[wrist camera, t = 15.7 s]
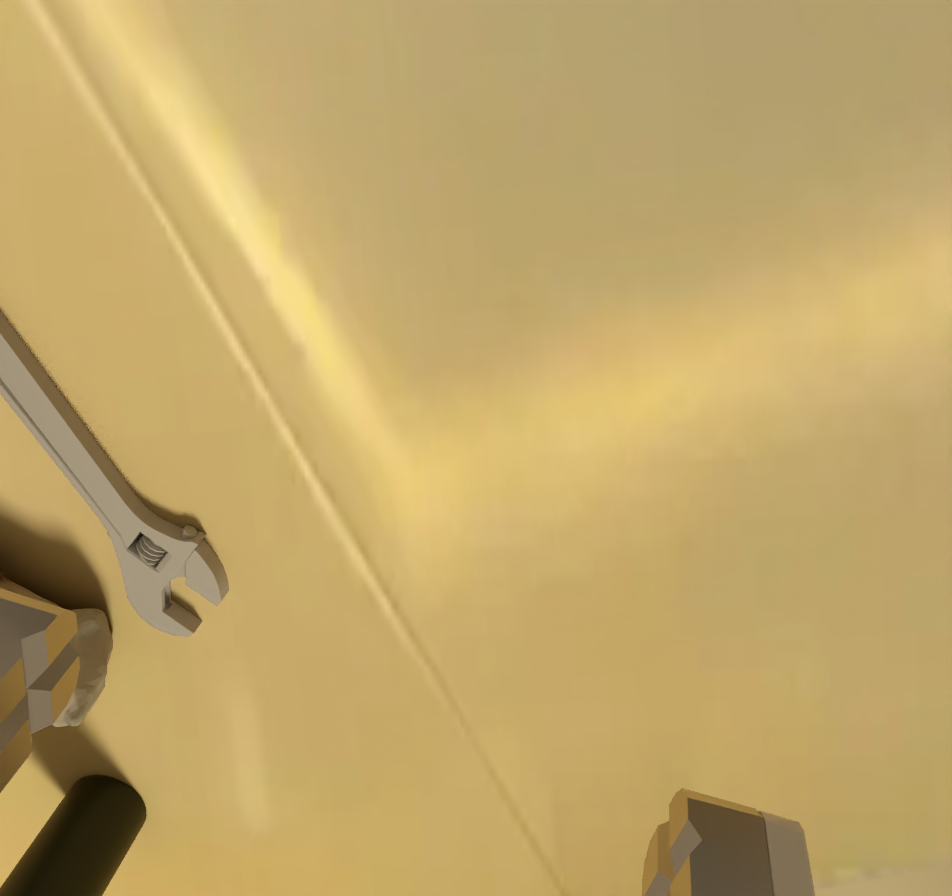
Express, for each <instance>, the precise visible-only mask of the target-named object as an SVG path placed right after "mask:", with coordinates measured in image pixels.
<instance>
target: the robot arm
mask: <svg viewBox="0 0 952 896" xmlns="http://www.w3.org/2000/svg"><path fill="white" fill-rule="evenodd" d="M77 632H78V628H77V619H76V613H74V612H72V611H69V610H66V609H63V608H60V607H57V606H54V605H51V604H48V603H45V602H42V601H38V600H35V599H32V598H29V597H26V596H23V595H20V594H17V593H14V592H10V591H7V590H4V589H1V588H0V793H1V791H2V790H3V789H4V787H5V786H6V785H7V784H8V782H9V781H10V780H11V778H12V777H13V776H14V775H15V773H16V772H17V771H18V769H19V768H20V767H21V765H22V764H23V763H24V762H25V760H26V759H27V758H28V756H29V755H30V754H31V753H32V736H31V734H33V733H35V732H37V731H39V730H41V729H44V728H46V727H48V726H50V725H52V724H54V722H55V721H56V720H57V718H58V717H59V716H60V714H61V713H62V711H63V710H64V709H65V707H66V706H67V704H68V702H69V700H70V697H71V695H72V693H73V691H74V689H75V687H76V685H77V680H78V675H79V670H80V660H79V654H78V653H77V651H76V650H75V649H74V647H73V646H72V645H71V643H70V642H69V641H70V640H71V639H72V638H73V636H74V635H75V634H76V633H77ZM642 896H815V891H814V886H813V880H812V874H811V868H810V863H809V857H808V851H807V846H806V840H805V834H804V830H803V828H802V827H801V825H800V823H799V822H796V821H793V820H790V819H786V818H783V817H779V816H776V815H773V814H769V813H766V812H762V811H757V810H756V809H755V808H751V807H748V806H744V805H740V804H737V803H733V802H730V801H726V800H722V799H719V798H715V797H712V796H708V795H704V794H701V793H697V792H694V791H690V790H686V789H683V788H682V789H681V790H679V791H678V792H676V794H675V796H674V797H673V799H672V801H671V803H670V804H669V821H668V822H665V823H663V824H661V825H658V826H657V828H656V830H655V832H654V835H653V837H652V839H651V841H650V844H649V847H648V851H647V855H646V858H645V862H644V871H643V879H642Z"/></svg>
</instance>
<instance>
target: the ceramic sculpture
mask: <svg viewBox="0 0 952 896" xmlns="http://www.w3.org/2000/svg"><path fill="white" fill-rule="evenodd" d="M0 588H1V589H4V590H7V591H10V592H14V593H17V594H20V595H23V596H26V597H29V598H32V599H35V600H38V601H42V602H45V603H48V604H51V605H54V606H57V607H60V606H58V605H57V604H55V603H53V602H51V601H49V600H46V599H44V598H42V597H40V596H38V595H36V594H35V593H33V592H31V591H29V590H28V589H26V588H24V587H22V586H20V585H18V584H16V583H14V582H12V581H10V580H8V579H6V578H5V576H4V574H3V573H2V572H1V571H0ZM60 608H62V607H60ZM63 609H64V608H63ZM66 610H67V609H66ZM69 611H72V612H74V613H76V619H77V628H78V632H77V633H76V634H75V635H74V636H73V638H72V639H71V640H70V641H69V642H70V643H71V645H72V646H73V647H74V649H75V650H76V651H77V653H78V654H79V660H80V670H79V675H78V680H77V685H76V687H75V689H74V691H73V693H72V695H71V697H70V700H69V702H68V704H67V706H66V707H65V709H64V710H63V711H62V713H61V714H60V716H59V717H58V718H57V720H56V721H55V722H54V724H52V725H53V726H56V727H61V726H68V725H71V726H78V725H79V724H81V723H82V721H83V720H84V718H85V716H86V714H87V713H88V712H89V710H90V709H91V708H92V706H93V705H94V703H95V702H96V700H97V699H98V697H99V695H100V694H101V692H102V690H103V689H104V687H105V677H106V673H107V664H108V661H109V658H110V655H111V651H112V648H113V639H112V635H111V632H110V629H109V625H108V620H107V617H106V615H105V613H104V612H103V611H102V610H100V609H95V608H88V609H74V610H69Z"/></svg>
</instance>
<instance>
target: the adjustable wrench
mask: <svg viewBox="0 0 952 896" xmlns="http://www.w3.org/2000/svg"><path fill="white" fill-rule="evenodd" d="M0 394H1V395H2V397H3V398H4V399H5V400H6V402H7V403H8V404H9V405H10V407H11V408H12V409H13V410H14V412H15V413H16V414H17V415H18V417H19V418H20V419H21V421H22V422H23V423H24V424H25V426H26V427H27V428H28V429H29V431H30V432H31V433H32V434H33V436H34V437H35V438H36V439H37V441H38V442H39V443H40V445H41V446H42V447H43V448H44V450H45V451H46V452H47V453H48V455H49V456H50V457H51V458H52V460H53V461H54V462H55V463H56V465H57V466H58V467H59V469H60V470H61V471H62V472H63V474H64V475H65V476H66V477H67V479H68V480H69V481H70V482H71V484H72V485H73V486H74V487H75V489H76V490H77V491H78V493H79V494H80V495H81V496H82V498H83V499H84V500H85V501H86V503H87V504H88V505H89V506H90V508H91V509H92V510H93V511H94V513H95V514H96V515H97V517H98V518H99V519H100V521H101V522H102V524H103V525H104V527H105V528H106V530H107V532H108V534H109V536H110V538H111V540H112V543H113V546H114V549H115V551H116V554H117V557H118V560H119V563H120V567H121V570H122V575H123V579H124V584H125V589H126V593H127V597H128V599H129V601H130V603H131V605H132V607H133V608H134V610H135V611H136V613H137V614H138V615H139V616H140V617H141V618H142V619H144V620H145V621H146V622H147V623H148V624H150V625H151V626H153V627H155V628H156V629H158V630H160V631H163V632H166V633H168V634H171V635H174V636H183V637H188V636H191V635H192V634H194V632H195V631H196V629H197V628H198V626H199V625H200V624H201V622H202V620H200V619H199V618H197V617H196V616H194V615H193V614H191V613H190V612H188V611H187V610H186V609H184V608H183V607H181V606H180V605H178V604H177V603H175V602H174V601H172V600H171V580H172V579H175V578H178V577H185V576H186V580H185V584H186V585H187V586H188V587H190V588H191V589H193V590H194V591H196V592H197V593H198V594H200V595H201V596H203V597H204V598H206V599H207V600H208V601H210V602H211V603H213V604H214V605H216V606H218V604H219V603H220V602H221V601H222V599H223V598H224V597H225V595H226V594H227V592H228V591H229V585H228V579H227V575H226V572H225V570H224V567H223V565H222V563H221V561H220V560H219V558H218V557H217V555H216V554H215V552H214V551H213V550H212V549H211V547H210V546H209V545H208V544H207V543H206V542H205V541H204V540H203V538H204V537H205V536H206V534H205V533H203V532H201V531H197V530H196V529H195V528H194V527H192V526H190V525H188V526H185V527H184V528H180V527H178V526H176V525H174V524H172V523H170V522H168V521H166V520H164V519H162V518H160V517H159V516H157V515H156V514H154V513H153V512H152V511H151V510H150V509H149V508H147V507H146V506H145V505H144V504H143V503H142V502H141V500H140V499H139V498H138V497H137V496H136V495H135V493H134V492H133V491H132V489H131V488H130V486H129V485H128V484H127V482H126V481H125V480H124V478H123V477H122V476H121V474H120V473H119V472H118V470H117V469H116V467H115V466H114V465H113V463H112V462H111V461H110V459H109V458H108V457H107V455H106V454H105V452H104V451H103V450H102V448H101V447H100V446H99V444H98V443H97V442H96V440H95V439H94V438H93V436H92V435H91V433H90V432H89V431H88V429H87V428H86V427H85V425H84V424H83V423H82V421H81V420H80V419H79V417H78V416H77V414H76V413H75V412H74V410H73V409H72V408H71V406H70V405H69V404H68V402H67V401H66V399H65V398H64V397H63V395H62V394H61V393H60V391H59V390H58V389H57V387H56V386H55V385H54V383H53V382H52V380H51V379H50V378H49V376H48V375H47V374H46V372H45V371H44V370H43V368H42V367H41V366H40V364H39V363H38V361H37V360H36V359H35V357H34V356H33V355H32V353H31V352H30V351H29V349H28V348H27V346H26V345H25V344H24V342H23V341H22V340H21V338H20V337H19V336H18V334H17V333H16V332H15V330H14V329H13V327H12V326H11V325H10V323H9V322H8V321H7V319H6V318H5V317H4V315H3V314H2V313H1V311H0ZM140 533H142V534H143V536H142V537H141V538H140V540H137V537H138V536H139V534H140ZM200 542H201V543H200ZM199 543H200V544H199Z"/></svg>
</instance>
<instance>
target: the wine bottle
mask: <svg viewBox="0 0 952 896" xmlns="http://www.w3.org/2000/svg"><path fill="white" fill-rule="evenodd" d="M145 820H146V809H145V806H144V803H143V801H142V800H141V798H140V797H139V796H138V794H137V793H136V792H135V791H134V790H132V789H131V788H130V787H129V786H127V785H126V784H124V783H122V782H120V781H118V780H115V779H113V778H109V777H105V776H88V777H84V778H81V779H79V780H78V781H76V782H75V783H74V784H73V786H72V787H71V789H70V790H69V791H68V793H67V794H66V796H65V797H64V798H63V800H62V801H61V803H60V804H59V806H58V807H57V808H56V810H55V811H54V813H53V814H52V815H51V817H50V818H49V820H48V821H47V823H46V824H45V825H44V827H43V828H42V830H41V831H40V832H39V834H38V835H37V837H36V838H35V840H34V841H33V842H32V844H31V845H30V847H29V848H28V849H27V851H26V852H25V854H24V855H23V857H22V858H21V859H20V861H19V862H18V864H17V865H16V866H15V868H14V869H13V871H12V872H11V874H10V875H9V876H8V878H7V879H6V881H5V882H4V883H3V885H2V886H1V888H0V896H102V895H103V893H104V891H105V890H106V888H107V886H108V884H109V883H110V881H111V879H112V878H113V876H114V874H115V872H116V871H117V869H118V867H119V866H120V864H121V862H122V860H123V859H124V857H125V855H126V854H127V852H128V850H129V848H130V847H131V845H132V843H133V841H134V840H135V838H136V836H137V835H138V833H139V831H140V829H141V828H142V826H143V824H144V822H145Z"/></svg>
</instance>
